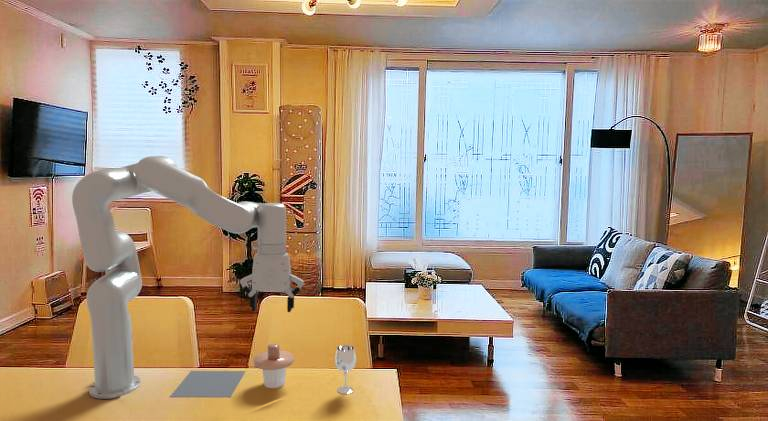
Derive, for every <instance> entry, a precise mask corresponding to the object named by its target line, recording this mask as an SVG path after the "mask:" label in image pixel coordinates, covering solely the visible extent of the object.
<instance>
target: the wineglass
mask: <svg viewBox="0 0 768 421" xmlns="http://www.w3.org/2000/svg"><path fill="white" fill-rule="evenodd" d="M355 351H356V350H355V347H354V346H353V345H349V344H342V345H338V346H337V347H336V351H335V355H334V356H335V357H334V364H335V367H336V368H337V370H339V371H342V372H343V377H344V385H343V386H340V387H337V392H338V393H340V394H343V395H345V394H346V395H347V394H351V393H353V392H354V391H355V390H354V387H352V386H350V385H347V378H348V372H350V371H351V370H353V369H355V366H356V365H357V364H356V363H357V356H356V352H355Z"/></svg>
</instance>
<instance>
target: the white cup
mask: <svg viewBox="0 0 768 421" xmlns="http://www.w3.org/2000/svg"><path fill="white" fill-rule="evenodd" d="M261 370H262V376H263V377H262V378H263V384H264V385H263V386H264V387H265V388H268V389H279V388H281V387H283V386H284V385H285V384H286V376H287V375H286V374H287V373H286V372H287V367H286V368H282V369H277V370H263V369H261Z"/></svg>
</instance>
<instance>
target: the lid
mask: <svg viewBox="0 0 768 421" xmlns="http://www.w3.org/2000/svg"><path fill="white" fill-rule="evenodd" d="M280 347H281V346H280V344H279V343H271V344H268V345H267V351H264V352H260V353H258V354H257V355H255V356H254V357H253V366H254V367H256V368H257V369H259V370H262V369H263V370H277V369H282V368H286V369H287V368H288V367H290V366H292V364H294V361H295V355H294V354H293V353H292V352H289V351H287V350H281V349H280ZM263 370H262V371H263Z"/></svg>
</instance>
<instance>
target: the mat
mask: <svg viewBox="0 0 768 421" xmlns="http://www.w3.org/2000/svg"><path fill="white" fill-rule="evenodd" d="M245 373H246V370H190V371H189V373H188V374H187V375H186V376H185V378H183V380H182V381H181V382H180V383H179V385H178V386H177V387H176V388H175V390H174V391H173V392H172V393H171V394H170V396H169V398H231V397H232V396H233V394H234V392H235V391H236V389H237V387H238V385H239V383H240V382H241V380H242V379H243V377H244V375H245Z"/></svg>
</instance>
